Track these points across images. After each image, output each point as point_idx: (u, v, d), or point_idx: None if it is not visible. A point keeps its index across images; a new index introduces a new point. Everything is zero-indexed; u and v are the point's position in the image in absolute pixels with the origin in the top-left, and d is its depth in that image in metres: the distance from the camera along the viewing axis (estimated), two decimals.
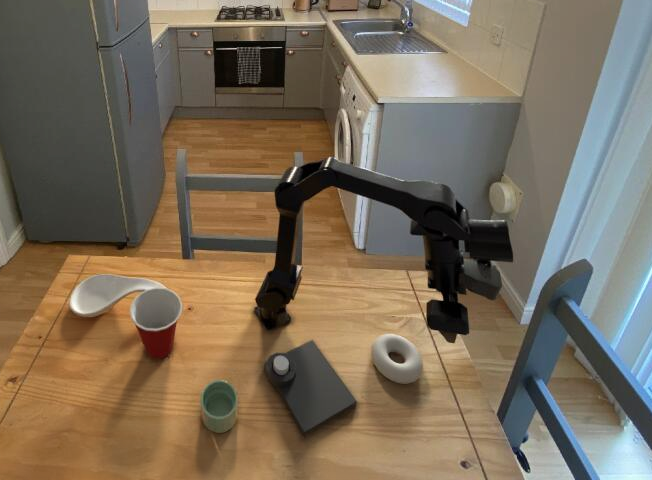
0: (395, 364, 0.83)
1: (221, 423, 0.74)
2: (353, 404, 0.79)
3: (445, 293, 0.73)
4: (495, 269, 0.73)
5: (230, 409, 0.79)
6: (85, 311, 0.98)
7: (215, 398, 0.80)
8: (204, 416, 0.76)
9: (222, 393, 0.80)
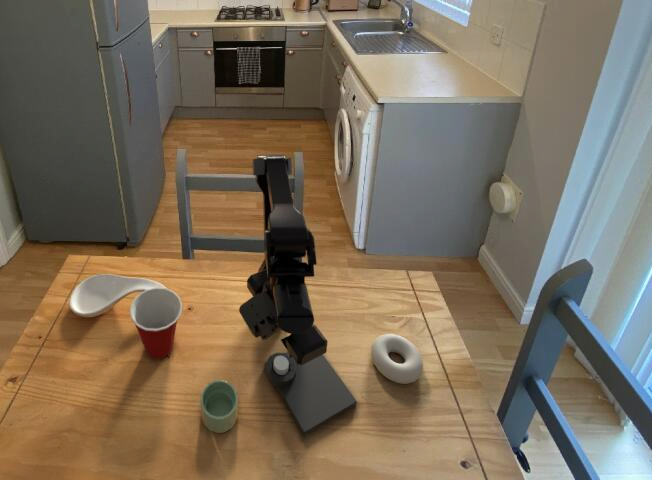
0: (395, 364, 0.83)
1: (221, 423, 0.74)
2: (353, 404, 0.79)
3: None
4: (251, 324, 0.72)
5: (230, 409, 0.79)
6: (85, 311, 0.98)
7: (215, 398, 0.80)
8: (204, 416, 0.76)
9: (222, 393, 0.80)
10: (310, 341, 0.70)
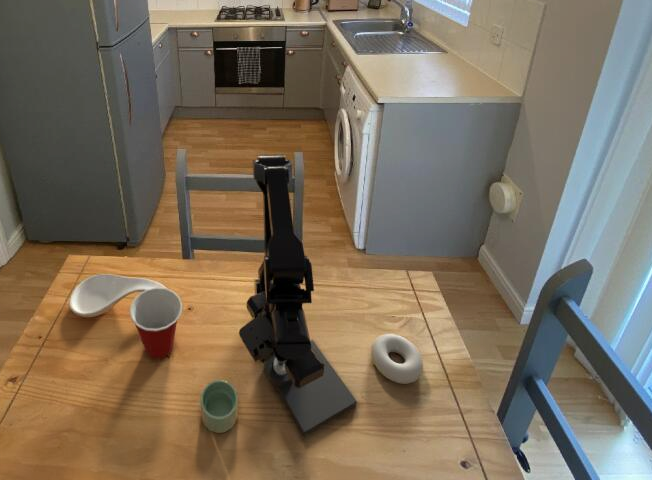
0: (395, 364, 0.83)
1: (221, 423, 0.74)
2: (353, 404, 0.79)
3: None
4: (251, 348, 0.74)
5: (230, 409, 0.79)
6: (85, 311, 0.98)
7: (215, 398, 0.80)
8: (204, 416, 0.76)
9: (222, 393, 0.80)
10: (308, 365, 0.73)
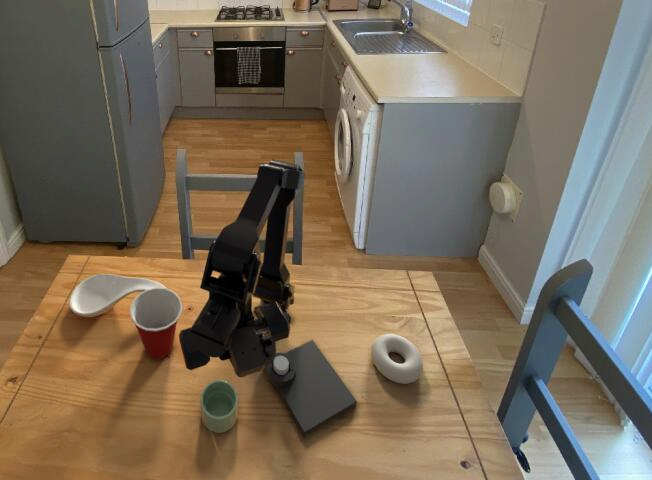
0: (395, 364, 0.83)
1: (221, 423, 0.74)
2: (353, 404, 0.79)
3: None
4: (264, 359, 0.65)
5: (230, 409, 0.79)
6: (85, 311, 0.98)
7: (215, 398, 0.80)
8: (204, 416, 0.76)
9: (222, 393, 0.80)
10: (277, 312, 0.74)
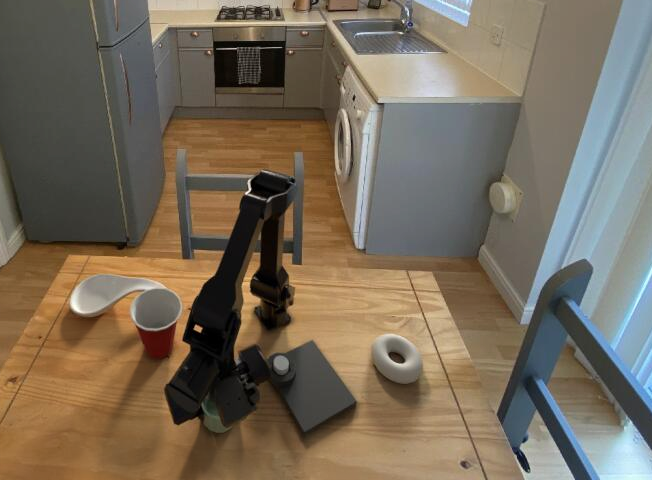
0: (395, 364, 0.83)
1: (221, 423, 0.74)
2: (353, 404, 0.79)
3: None
4: (249, 408, 0.68)
5: None
6: (85, 311, 0.98)
7: None
8: (204, 416, 0.76)
9: None
10: (258, 356, 0.77)
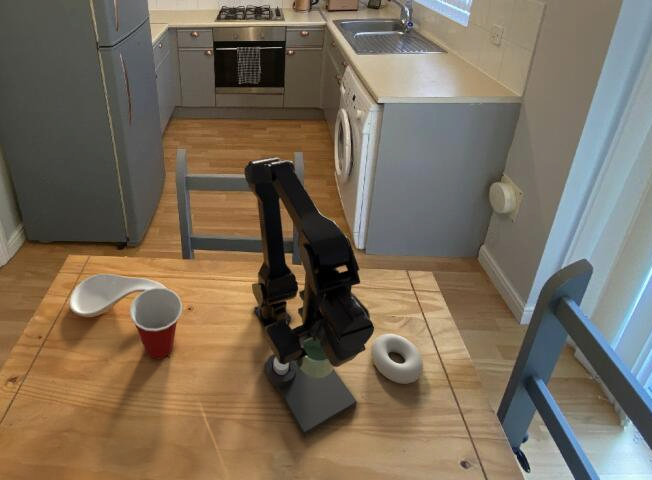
0: (395, 364, 0.83)
1: (321, 367, 0.73)
2: (353, 404, 0.79)
3: (303, 326, 0.72)
4: (358, 347, 0.67)
5: (325, 357, 0.78)
6: (85, 311, 0.98)
7: (308, 346, 0.79)
8: (302, 361, 0.74)
9: (316, 341, 0.79)
10: None
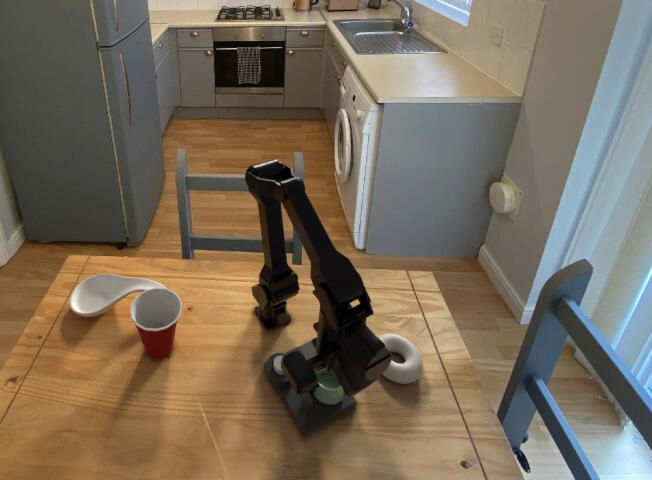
0: (395, 364, 0.83)
1: (335, 395, 0.77)
2: (353, 404, 0.79)
3: (317, 357, 0.76)
4: None
5: (337, 383, 0.82)
6: (85, 311, 0.98)
7: (320, 373, 0.83)
8: (316, 388, 0.78)
9: None
10: None
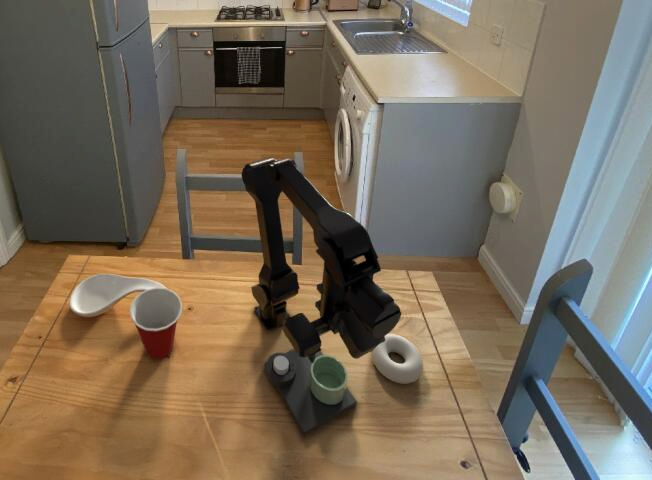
0: (395, 364, 0.83)
1: (335, 395, 0.77)
2: (353, 404, 0.79)
3: (321, 319, 0.72)
4: (378, 338, 0.67)
5: (337, 383, 0.82)
6: (85, 311, 0.98)
7: (320, 373, 0.83)
8: (316, 388, 0.78)
9: (328, 368, 0.83)
10: None
